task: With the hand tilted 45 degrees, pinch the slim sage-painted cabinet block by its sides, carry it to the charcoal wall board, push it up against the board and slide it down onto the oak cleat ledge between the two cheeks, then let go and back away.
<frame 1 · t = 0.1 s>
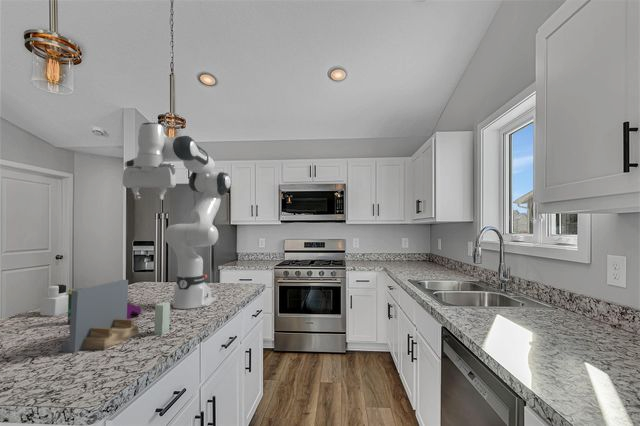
hand: (149, 199, 117), 48 cm above the countertop, tool pointing down, fingers open, 8 cm apart
cabinet block: (161, 332, 108), on the countertop
medicine bottle: (55, 314, 130), on the countertop
mounting bracket: (120, 321, 121), on the countertop
cleat ledge: (112, 340, 100), on the countertop
coffee box: (80, 323, 118), on the countertop
wall board: (100, 339, 100), on the countertop
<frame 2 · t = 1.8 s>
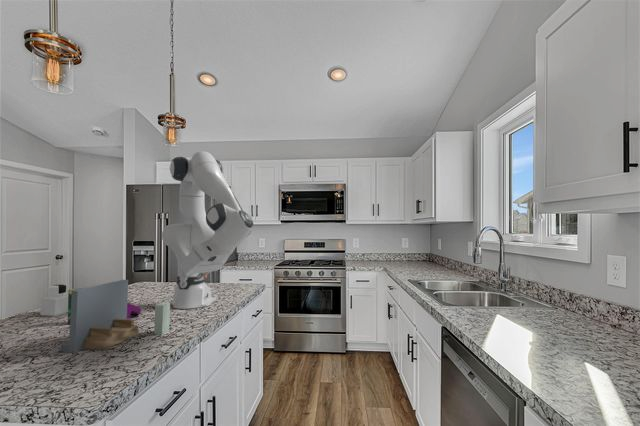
hand: (190, 279, 106), 19 cm above the countertop, tool tilted 45°, fingers open, 8 cm apart
nothing on the countertop moved.
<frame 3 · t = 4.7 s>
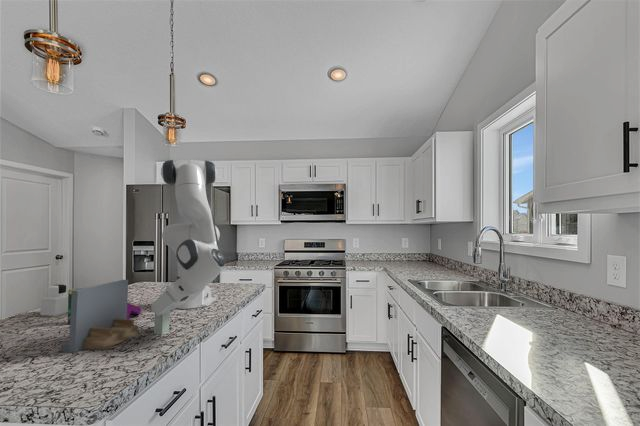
hand: (162, 313, 108), 6 cm above the countertop, tool tilted 45°, fingers closed on cabinet block, 4 cm apart
cabinet block: (161, 332, 108), on the countertop, touching gripper
everything else where it was.
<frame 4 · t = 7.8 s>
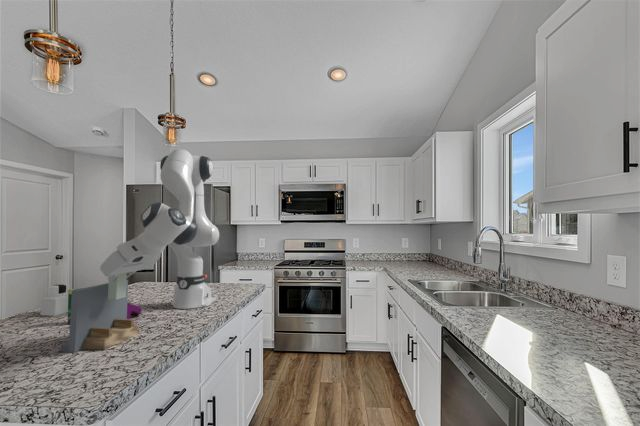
hand: (117, 278, 101), 20 cm above the countertop, tool tilted 45°, fingers closed on cabinet block, 4 cm apart
cabinet block: (116, 298, 100), point 14 cm above the countertop, touching gripper
everything else where it was.
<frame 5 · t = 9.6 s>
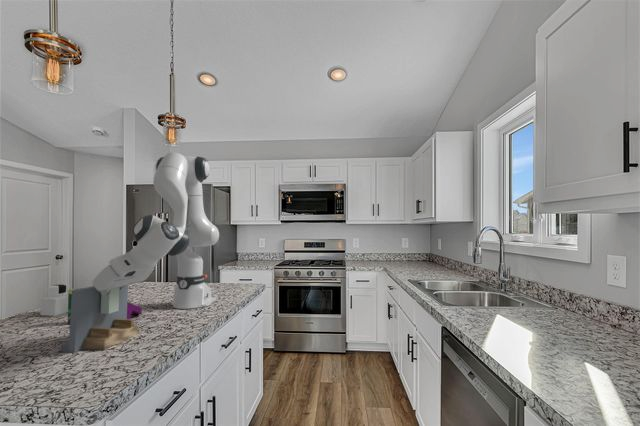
hand: (110, 292, 101), 16 cm above the countertop, tool tilted 45°, fingers closed on cabinet block, 4 cm apart
cabinet block: (109, 311, 100), point 9 cm above the countertop, touching gripper
everything else where it was.
when the fingers open (10 cm above the countertop, at t = 11.1 s): cabinet block stays where it is, resting on cleat ledge.
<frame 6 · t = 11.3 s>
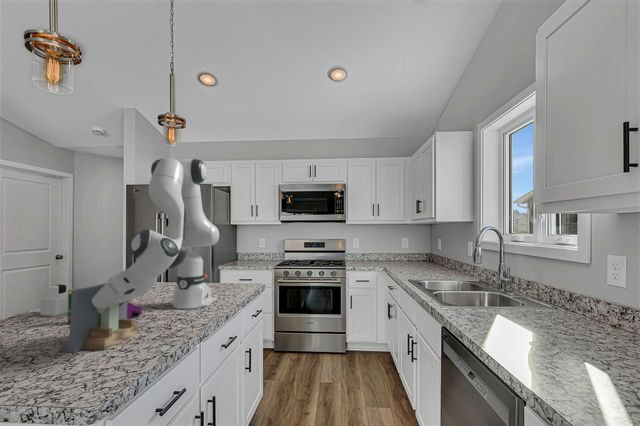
hand: (109, 308, 100), 10 cm above the countertop, tool tilted 45°, fingers open, 6 cm apart
cabinet block: (109, 330, 100), point 3 cm above the countertop, touching cleat ledge
everything else where it was.
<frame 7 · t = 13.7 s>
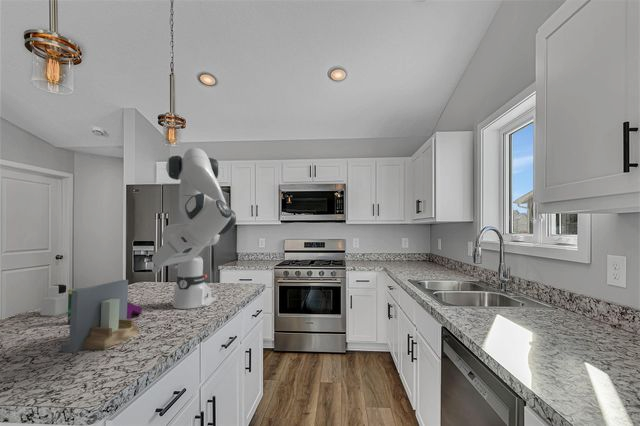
hand: (163, 269, 102), 23 cm above the countertop, tool tilted 45°, fingers open, 8 cm apart
nothing on the countertop moved.
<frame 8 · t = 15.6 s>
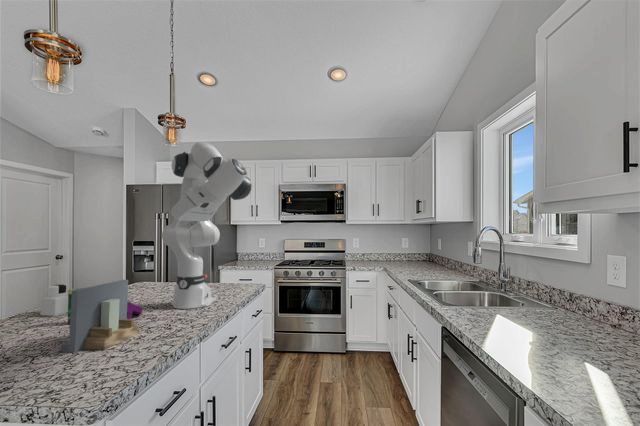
hand: (180, 227, 105), 37 cm above the countertop, tool tilted 45°, fingers open, 8 cm apart
nothing on the countertop moved.
at the end: cabinet block inside the target area (0.4 cm from its centre), point 3.0 cm above the countertop; cabinet block tilted 0°; the gripper is holding nothing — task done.
